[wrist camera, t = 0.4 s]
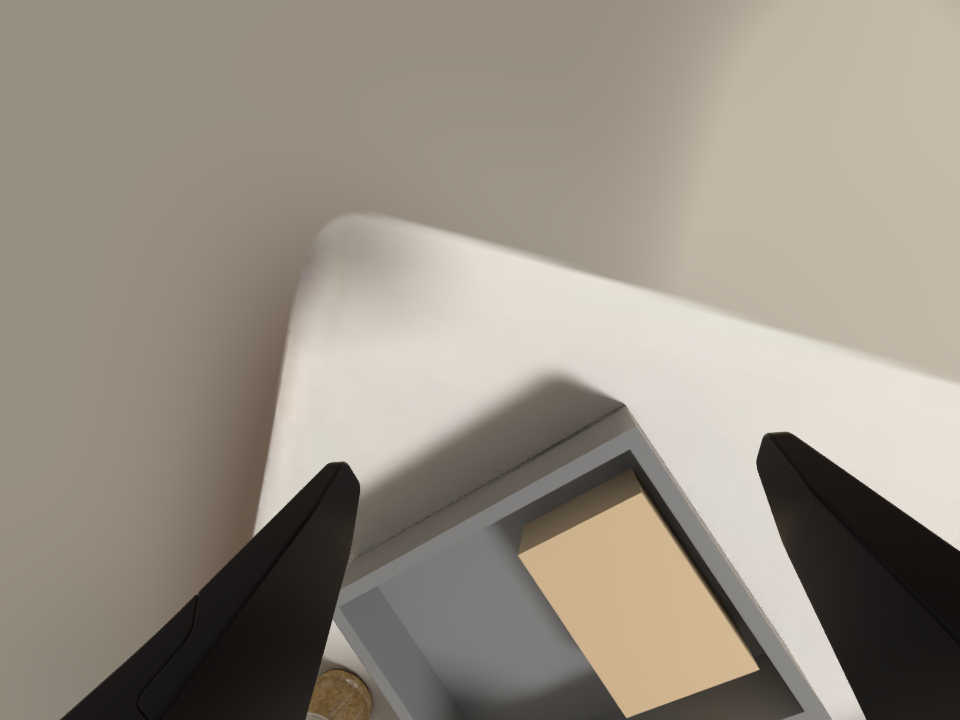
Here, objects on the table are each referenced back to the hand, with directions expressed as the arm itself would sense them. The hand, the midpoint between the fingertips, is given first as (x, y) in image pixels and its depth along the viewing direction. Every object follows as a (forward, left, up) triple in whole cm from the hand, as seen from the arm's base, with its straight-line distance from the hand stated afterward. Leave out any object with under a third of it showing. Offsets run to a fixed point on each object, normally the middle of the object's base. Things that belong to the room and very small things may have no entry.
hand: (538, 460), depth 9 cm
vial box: (-12, +3, -14) cm, 19 cm away
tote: (-12, +8, -15) cm, 20 cm away
